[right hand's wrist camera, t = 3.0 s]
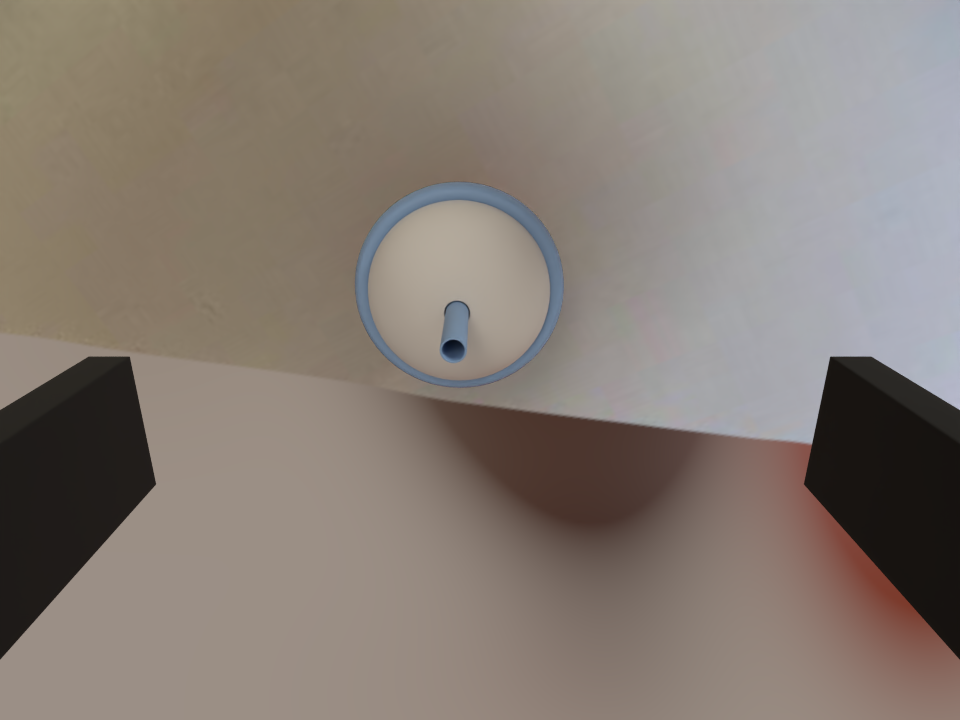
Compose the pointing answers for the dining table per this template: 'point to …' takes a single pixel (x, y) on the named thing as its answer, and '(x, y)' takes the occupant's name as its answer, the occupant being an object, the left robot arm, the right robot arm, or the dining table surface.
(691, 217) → the dining table surface
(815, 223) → the dining table surface
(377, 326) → the cup with straw
